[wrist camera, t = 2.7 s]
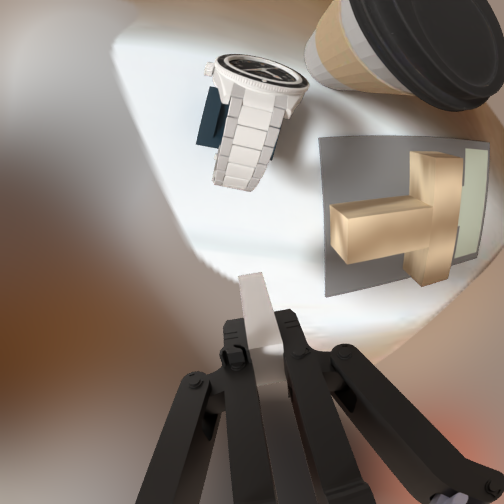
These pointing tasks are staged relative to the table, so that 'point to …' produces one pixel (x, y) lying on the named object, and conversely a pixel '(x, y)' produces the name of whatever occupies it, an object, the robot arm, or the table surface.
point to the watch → (247, 115)
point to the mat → (391, 185)
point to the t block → (406, 220)
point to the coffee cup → (410, 50)
